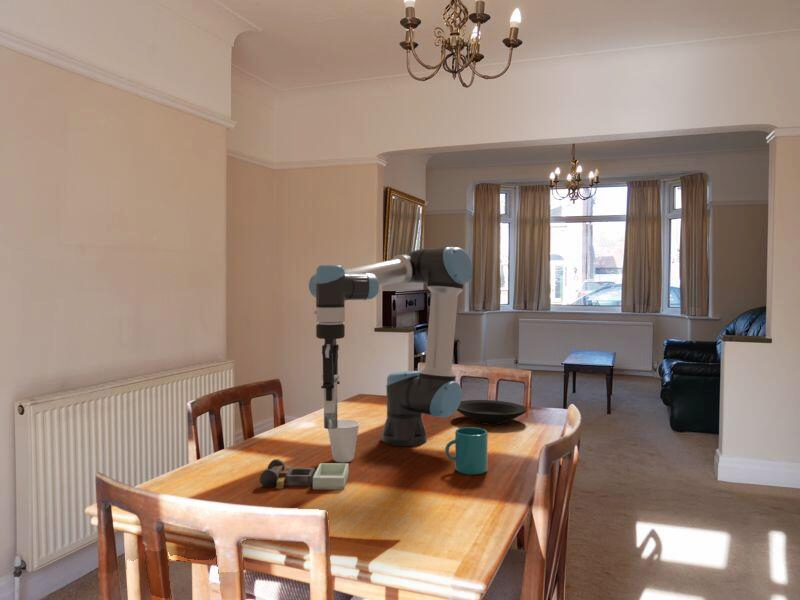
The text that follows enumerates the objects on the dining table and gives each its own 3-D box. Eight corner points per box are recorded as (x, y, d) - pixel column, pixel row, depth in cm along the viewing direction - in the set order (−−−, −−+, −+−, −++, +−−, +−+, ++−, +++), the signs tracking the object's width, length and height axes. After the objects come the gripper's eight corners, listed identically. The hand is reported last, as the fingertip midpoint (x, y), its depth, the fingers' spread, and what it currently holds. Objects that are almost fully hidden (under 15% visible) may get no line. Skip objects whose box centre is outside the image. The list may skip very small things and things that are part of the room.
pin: (339, 425, 162) (339, 373, 161) (337, 429, 158) (337, 376, 157) (323, 425, 162) (323, 373, 162) (321, 429, 158) (320, 376, 157)
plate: (535, 419, 230) (535, 405, 230) (512, 433, 210) (512, 417, 209) (469, 410, 245) (469, 397, 245) (441, 423, 225) (441, 408, 224)
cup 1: (364, 456, 182) (364, 421, 182) (351, 466, 173) (351, 428, 173) (335, 453, 186) (335, 418, 185) (320, 463, 176) (320, 426, 176)
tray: (348, 474, 166) (348, 463, 166) (343, 489, 154) (343, 478, 154) (319, 473, 166) (319, 463, 166) (312, 489, 154) (312, 477, 154)
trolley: (315, 475, 165) (315, 459, 165) (309, 488, 155) (309, 471, 155) (269, 474, 166) (268, 459, 166) (259, 488, 155) (259, 471, 155)
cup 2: (442, 466, 173) (442, 427, 173) (482, 464, 175) (483, 426, 174) (448, 476, 164) (448, 436, 164) (490, 474, 166) (491, 434, 165)
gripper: (321, 320, 167) (321, 404, 168) (311, 325, 150) (311, 417, 151) (347, 320, 167) (348, 404, 168) (340, 325, 150) (341, 418, 151)
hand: (330, 410), depth 160 cm, fingers closed on pin, 3 cm apart
